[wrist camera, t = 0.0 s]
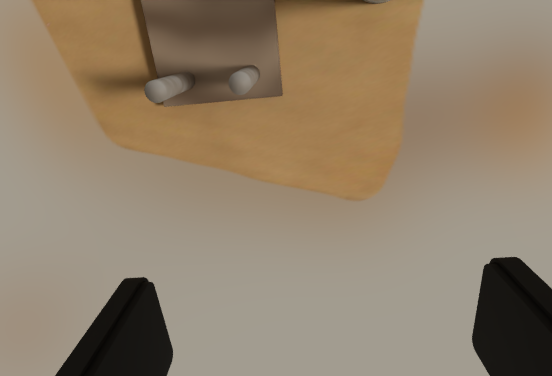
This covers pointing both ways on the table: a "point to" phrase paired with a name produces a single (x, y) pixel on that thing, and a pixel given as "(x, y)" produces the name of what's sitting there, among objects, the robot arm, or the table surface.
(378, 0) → the travel mug
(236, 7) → the peg stand
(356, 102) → the table surface
